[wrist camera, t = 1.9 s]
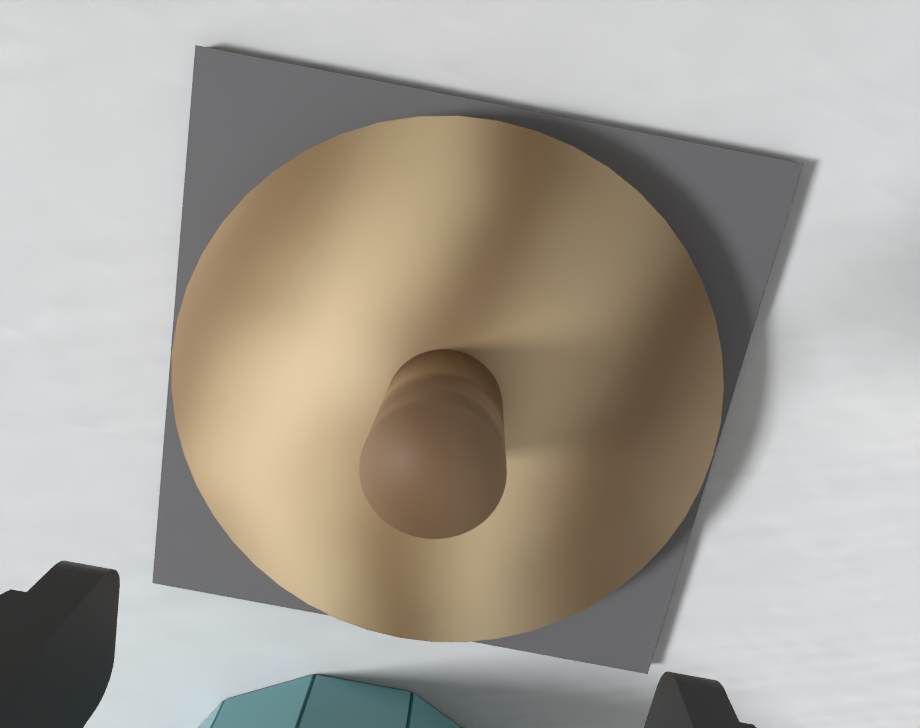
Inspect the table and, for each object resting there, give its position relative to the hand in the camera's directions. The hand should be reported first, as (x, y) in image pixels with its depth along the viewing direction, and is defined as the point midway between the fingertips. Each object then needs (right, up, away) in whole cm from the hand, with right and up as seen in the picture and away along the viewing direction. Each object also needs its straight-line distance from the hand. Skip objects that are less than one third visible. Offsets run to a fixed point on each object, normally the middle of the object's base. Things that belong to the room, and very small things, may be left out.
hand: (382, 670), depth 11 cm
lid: (+1, +3, +13) cm, 14 cm away
